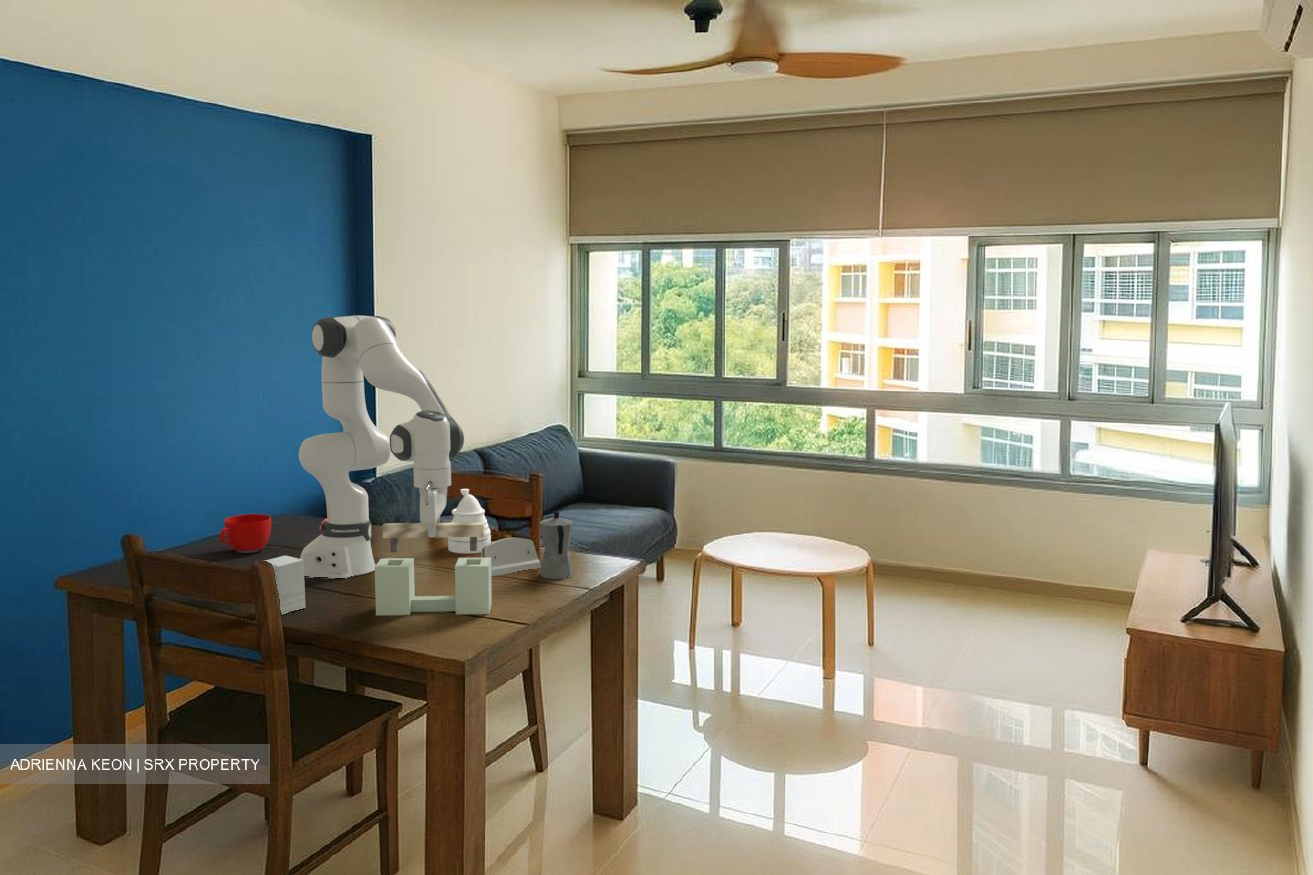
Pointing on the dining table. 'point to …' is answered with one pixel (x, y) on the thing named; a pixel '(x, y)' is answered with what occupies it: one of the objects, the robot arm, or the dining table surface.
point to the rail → (443, 530)
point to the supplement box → (289, 582)
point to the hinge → (511, 555)
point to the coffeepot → (556, 547)
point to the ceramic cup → (247, 531)
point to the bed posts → (400, 596)
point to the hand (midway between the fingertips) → (433, 534)
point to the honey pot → (469, 513)
